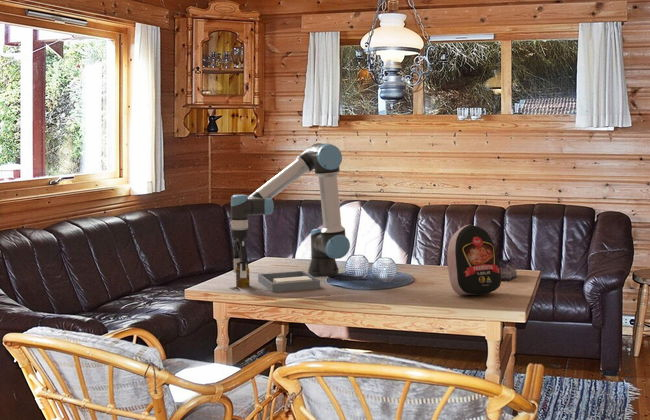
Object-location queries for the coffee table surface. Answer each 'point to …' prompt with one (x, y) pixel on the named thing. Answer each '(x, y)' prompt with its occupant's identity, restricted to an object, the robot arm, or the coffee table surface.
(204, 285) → the coffee table surface
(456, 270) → the packaged food
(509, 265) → the geode
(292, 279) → the cream rectangular block
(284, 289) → the gray tray
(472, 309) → the coffee table surface
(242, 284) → the condiment
